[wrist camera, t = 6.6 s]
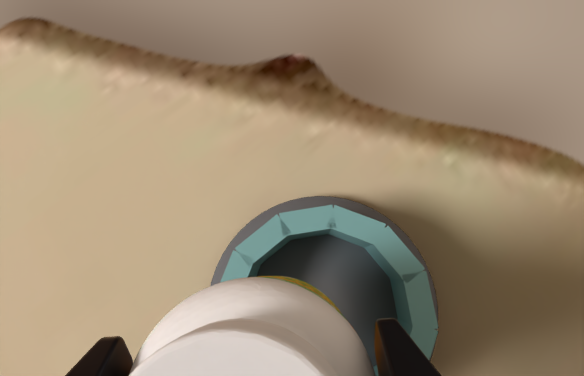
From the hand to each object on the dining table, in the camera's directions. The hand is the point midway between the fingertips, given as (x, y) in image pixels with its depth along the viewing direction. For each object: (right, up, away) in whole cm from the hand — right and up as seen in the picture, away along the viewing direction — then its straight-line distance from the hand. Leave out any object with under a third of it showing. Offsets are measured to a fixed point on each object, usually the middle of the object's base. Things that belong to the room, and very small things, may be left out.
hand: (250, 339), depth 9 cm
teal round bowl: (+2, -3, +12) cm, 13 cm away
